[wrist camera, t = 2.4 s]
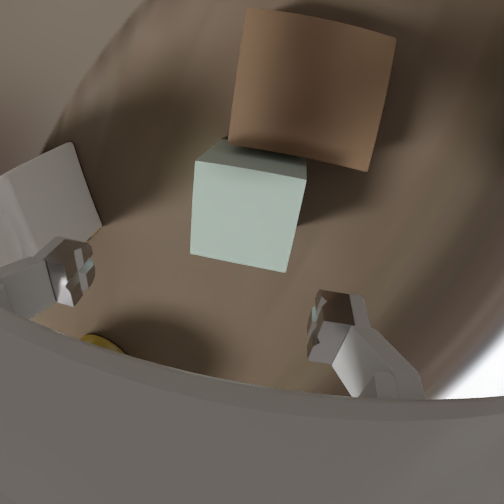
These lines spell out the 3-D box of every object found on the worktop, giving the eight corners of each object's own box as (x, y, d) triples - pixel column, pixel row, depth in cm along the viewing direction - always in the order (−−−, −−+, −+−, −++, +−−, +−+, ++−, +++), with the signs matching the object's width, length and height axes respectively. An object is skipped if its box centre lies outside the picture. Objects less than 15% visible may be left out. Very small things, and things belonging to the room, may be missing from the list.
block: (381, 43, 13) (396, 38, 11) (358, 157, 17) (367, 172, 15) (255, 18, 14) (246, 7, 11) (238, 133, 18) (227, 144, 15)
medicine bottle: (48, 238, 24) (-40, 325, 14) (19, 165, 21) (-88, 235, 11) (105, 227, 22) (4, 334, 12) (74, 139, 19) (-61, 214, 9)
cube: (305, 153, 18) (306, 180, 14) (290, 227, 20) (285, 272, 16) (221, 138, 18) (195, 160, 14) (214, 213, 21) (190, 253, 16)
